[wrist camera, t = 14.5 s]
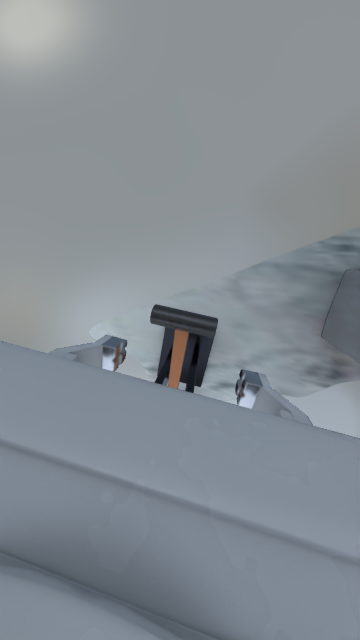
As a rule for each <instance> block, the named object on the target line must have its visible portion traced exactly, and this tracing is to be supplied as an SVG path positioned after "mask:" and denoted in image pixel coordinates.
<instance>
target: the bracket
mask: <svg viewBox="0 0 360 640" xmlns="http://www.w3.org/2000/svg"><path fill="white" fill-rule="evenodd" d="M174 334H175V329H173V328H168V327H166V328H165V334H164V340H163V345H162V351H161V357H160V363H159V368H158V374H157V376H158V377H157V379H156V381H155V383H158V384H161V385H165V386H167V383H168V380H169V373H170V365H171V358H172V350H173V342H174ZM213 339H214V338H211V337H206V336H202V335H198V334H194V333H190V332H189V336H188V341H187V346H186V351H185V356H184V361H183V366H182V371H181V376H180V381H179V382H183V383H186V388H185V391H187V392H191V393H194V386H198V387H201V384H202V380H203V376H204V373H205V369H206V365H207V361H208V358H209V354H210V350H211V346H212V343H213Z"/></svg>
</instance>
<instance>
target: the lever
mask: <svg viewBox="0 0 360 640" xmlns="http://www.w3.org/2000/svg"><path fill="white" fill-rule="evenodd" d="M150 321H151V323H152V324H156V325H160V326H164V327H168V328H173V329H175V334H174V342H173V350H172V358H171V365H170V373H169V381H168V386H169V387H172V388H176V389H178V386H179V381H180V376H181V371H182V366H183V361H184V356H185V351H186V346H187V341H188V336H189V332H190V333H194V334H198V335H202V336H206V337H211V338H214V336H215V333H216V329H217V324H218V318H214V317H210V316H205V315H201V314H197V313H192V312H188V311H183V310H179V309H174V308H170V307H166V306H161V305H157V304H156V305H154V307H153V309H152V312H151V318H150Z"/></svg>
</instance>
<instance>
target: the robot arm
mask: <svg viewBox="0 0 360 640" xmlns="http://www.w3.org/2000/svg"><path fill="white" fill-rule="evenodd" d="M126 346H127V340H124V339H121V338H117V337H113V336H110V335H105V336H104V337H102V338H101V339H99V340H98V341H96V342H95V343H87V344H81V345H76V346H70V347H64V348H58V349H55V350H53V351H52V352H50V353H48V354H47V353H44V352H40V351H36V350H32V349H29V348H25V347H21V346H18V345H14V344H10V343H7V342H3V341H0V640H360V438H356V437H352V436H349V435H345V434H342V433H338V432H334V431H330V430H327V429H323V428H320V427H316V426H313V424H312V423H311V421H310V419H309V418H308V416H307V415H306V414H304V413H303V412H302V411H300V410H299V409H298V408H297V407H295V406H294V405H293V404H291V403H290V402H289V401H288V400H287V399H285V398H284V397H283V396H282V395H280V394H279V393H278V392H277V391H275V390H273V389H272V388H271V386H270V383H269V381H268V379H267V377H266V375H265V374H261V373H257V372H252V371H248V370H243V369H242V370H241V371H240V374H239V375H240V379H239V380H237V383H236V388H235V392H236V395H237V396H238V397H237V404H238V405H235V404H231V403H227V402H224V401H220V400H216V399H213V398H209V397H205V396H202V395H198V394H194V393H191V392H187V391H183V390H180V389H176V388H172V387H169V386H165V385H161V384H158V383H154V382H150V381H146V380H143V379H139V378H135V377H132V376H128V375H124V374H121V373H117V372H115V370H116V369H117V368H118V365H119V364H122V363H123V361H124V359H125V356H126V350H125V347H126Z"/></svg>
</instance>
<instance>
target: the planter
mask: <svg viewBox="0 0 360 640" xmlns="http://www.w3.org/2000/svg"><path fill="white" fill-rule="evenodd" d="M322 338H323V339H325V340H326V341H328V342H329V343H331V344H332V345H334V346H335V347H337V348H338V349H340V350H341V351H343V352H344V353H346V354H347V355H348V356H350V357H351V358H353V359H354V360H356V361H357V362H359V363H360V270H347V271H346V272H345V274H344V276H343V278H342V281H341V283H340V286H339V288H338V290H337V293H336V295H335V298H334V300H333V302H332V305H331V308H330V311H329V313H328V316H327V319H326V322H325V325H324V329H323V332H322Z"/></svg>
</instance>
